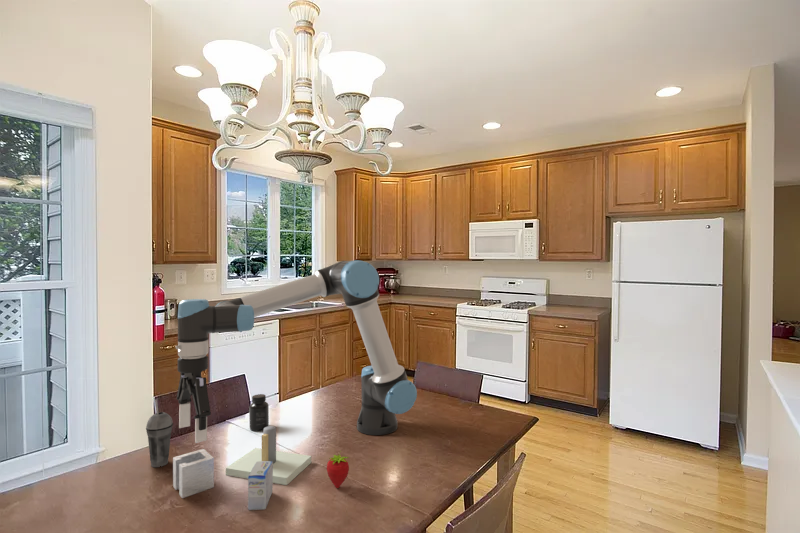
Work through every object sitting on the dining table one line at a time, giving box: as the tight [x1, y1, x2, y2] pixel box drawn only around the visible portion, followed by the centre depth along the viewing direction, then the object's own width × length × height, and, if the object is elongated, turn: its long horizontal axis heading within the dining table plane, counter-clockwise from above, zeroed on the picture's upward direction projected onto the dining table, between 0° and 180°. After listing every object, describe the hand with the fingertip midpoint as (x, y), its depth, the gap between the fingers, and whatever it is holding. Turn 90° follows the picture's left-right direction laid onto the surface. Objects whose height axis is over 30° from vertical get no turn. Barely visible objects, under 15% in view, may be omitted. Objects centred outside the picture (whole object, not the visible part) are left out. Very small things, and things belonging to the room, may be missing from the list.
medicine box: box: [247, 461, 274, 511], centre depth 108 cm, size 8×4×9 cm, turn 5°
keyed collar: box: [172, 448, 215, 499], centre depth 115 cm, size 8×8×8 cm
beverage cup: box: [145, 398, 174, 468], centre depth 129 cm, size 7×7×20 cm
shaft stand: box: [225, 425, 312, 486], centre depth 126 cm, size 20×14×12 cm
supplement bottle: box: [248, 393, 270, 432], centre depth 157 cm, size 7×7×12 cm
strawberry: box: [326, 450, 350, 489], centre depth 115 cm, size 6×8×10 cm
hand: (192, 433), depth 115 cm, fingers open, 13 cm apart
